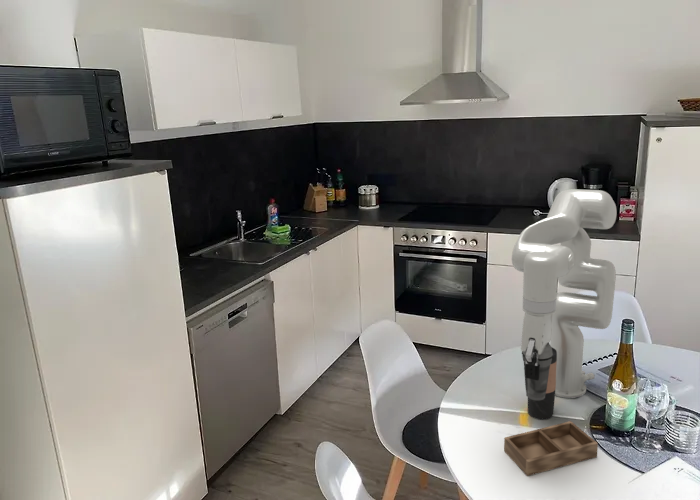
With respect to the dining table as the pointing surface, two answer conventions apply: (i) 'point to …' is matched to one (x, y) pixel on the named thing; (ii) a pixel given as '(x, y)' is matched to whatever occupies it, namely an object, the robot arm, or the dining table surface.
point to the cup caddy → (550, 448)
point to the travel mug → (545, 406)
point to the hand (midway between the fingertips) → (536, 371)
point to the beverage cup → (539, 387)
